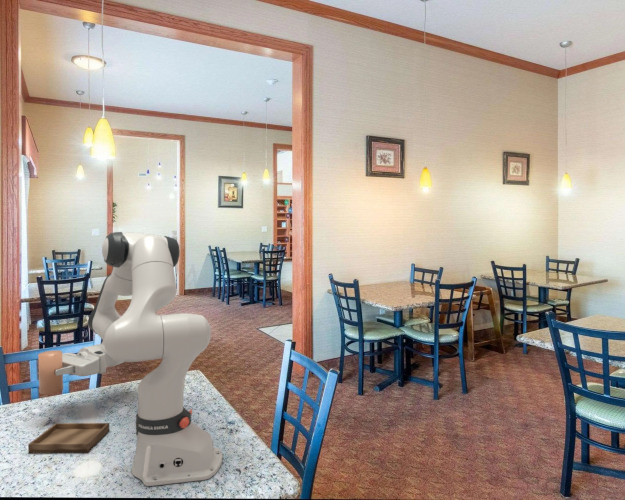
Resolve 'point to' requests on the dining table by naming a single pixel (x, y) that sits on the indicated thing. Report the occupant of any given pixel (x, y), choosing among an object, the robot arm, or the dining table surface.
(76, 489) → the dining table surface
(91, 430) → the tray
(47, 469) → the dining table surface
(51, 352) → the peach cylinder
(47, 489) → the dining table surface
